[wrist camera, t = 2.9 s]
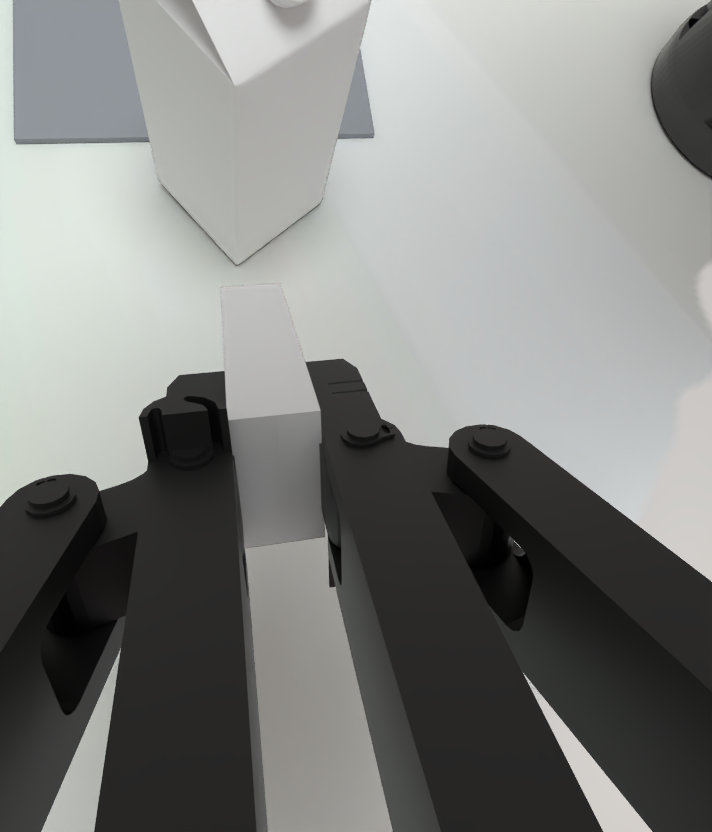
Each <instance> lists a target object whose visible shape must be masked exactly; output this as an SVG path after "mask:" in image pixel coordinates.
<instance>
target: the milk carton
mask: <svg viewBox="0 0 712 832" xmlns="http://www.w3.org/2000/svg"><path fill="white" fill-rule="evenodd" d="M119 5H120V9H121V14H122V18H123V23H124V27H125V32H126V36H127V41H128V45H129V50H130V55H131V59H132V64H133V68H134V73H135V77H136V82H137V86H138V91H139V95H140V100H141V104H142V109H143V114H144V118H145V123H146V127H147V132H148V136H149V141H150V145H151V150H152V154H153V159H154V163H155V168H156V173H157V177H158V180H159V181H160V183H161V184H162V185H163V186H164V187H165V188H166V189H167V190H168V191H169V192H170V193H171V195H172V196H173V197H174V198H175V199H176V200H177V201H178V202H179V203H180V204H181V205H182V207H183V208H184V209H185V210H186V211H187V212H188V213H189V214H190V215H191V216H192V217H193V219H194V220H195V221H196V222H197V223H198V224H199V225H200V226H201V227H202V228H203V229H204V230H205V232H206V233H207V234H208V235H209V236H210V237H211V238H212V239H213V240H214V241H215V242H216V244H217V245H218V246H219V247H220V248H221V249H222V250H223V251H224V252H225V253H226V254H227V256H228V257H229V258H230V259H231V260H232V261H233V262H234V263H235V264H237V265H238V264H240V263H241V262H243V261H244V260H246V259H247V258H248V257H250V256H251V255H252V254H254V253H255V252H256V251H258V250H259V249H260V248H262V247H263V246H264V245H266V244H267V243H268V242H270V241H271V240H272V239H273V238H275V237H276V236H277V235H279V234H280V233H281V232H283V231H284V230H285V229H287V228H288V227H289V226H291V225H292V224H293V223H295V222H296V221H297V220H299V219H300V218H301V217H303V216H304V215H305V214H307V213H308V212H309V211H311V210H312V209H313V208H315V207H316V206H317V205H318V204H319V203H320V202H321V201H322V197H323V193H324V189H325V186H326V182H327V178H328V174H329V170H330V166H331V162H332V158H333V154H334V150H335V146H336V142H337V138H338V134H339V130H340V126H341V122H342V118H343V114H344V110H345V106H346V102H347V98H348V94H349V90H350V86H351V82H352V78H353V74H354V70H355V66H356V62H357V58H358V54H359V50H360V46H361V42H362V38H363V34H364V30H365V26H366V22H367V17H368V13H369V9H370V5H371V0H119Z"/></svg>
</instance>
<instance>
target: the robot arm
mask: <svg viewBox="0 0 712 832" xmlns="http://www.w3.org/2000/svg"><path fill="white" fill-rule="evenodd" d="M652 92H653V99H654V103H655V107H656V110H657V113H658V116H659V118H660V120H661V123H662V125H663V127H664V128H665V130H666V132H667V133H668V135H669V136H670V138H671V139H672V141H673V142H674V143H675V145H676V146H677V147H678V148H679V150H680V151H681V152H682V153H683V154H684V155H685V156H686V157H687V158H688V159H689V160H690V161H691V162H692V163H694V164H695V165H696V166H697V167H698V168H700V169H701V170H703V171H704V172H705V173H707V174H708V175H710V176H711V177H712V0H711V1H710V2H709V3H708V4H707V5H705V6H703V7H701V8H700V9H699V10H697V11H696V12H695V13H693V14H692V15H691V16H690V17H689V18H688V19H687V20H686V21H685V22H684V23H683V24H682V25H681V26H680V27H679V29H678V30H677V31H676V32H675V34H674V35H673V36H672V38H671V39H670V40H669V42H668V43H667V44H666V45H665V47H664V48H663V49H662V51H661V52H660V54H659V56H658V58H657V60H656V63H655V66H654V70H653V76H652ZM221 307H222V327H223V347H224V368H225V371H221V372H210V373H199V374H187V375H179V376H178V377H177V378H176V379H175V380H174V381H173V382H172V383H171V384H170V385H169V386H168V387H167V395H166V397H164V398H161V399H159V400H156V401H154V402H153V403H151V404H150V405H148V406H147V407H146V408H144V409H143V411H142V413H141V414H140V416H139V421H140V425H141V430H142V435H143V439H144V444H145V449H146V453H147V458H148V467H147V471H146V472H145V473H144V474H142V475H140V476H139V477H137V478H135V479H133V480H131V481H129V482H126V483H123V484H121V485H118V486H115V487H112V488H108V489H105V490H102V491H99V489H98V487H97V485H96V482H94V481H93V480H91V479H89V478H88V477H86V476H81V475H74V474H65V475H54V476H50V477H46V478H42V479H39V480H36V481H34V482H32V483H30V484H28V485H26V486H24V487H22V488H20V489H19V490H17V491H16V492H15V493H14V494H13V495H12V496H10V497H9V498H8V499H7V500H6V501H5V502H4V503H3V505H2V506H1V507H0V832H41V830H42V828H43V826H44V823H45V821H46V819H47V816H48V814H49V812H50V810H51V807H52V805H53V803H54V800H55V798H56V796H57V793H58V791H59V789H60V786H61V784H62V782H63V780H64V777H65V775H66V773H67V770H68V768H69V766H70V763H71V761H72V759H73V757H74V754H75V752H76V750H77V747H78V745H79V743H80V740H81V738H82V736H83V733H84V731H85V729H86V727H87V724H88V722H89V720H90V717H91V715H92V713H93V710H94V708H95V706H96V704H97V701H98V699H99V697H100V694H101V692H102V690H103V687H104V685H105V683H106V680H107V678H108V676H109V674H110V671H111V669H112V667H113V664H114V662H115V660H116V657H117V655H118V653H119V651H120V648H121V652H120V659H119V666H118V673H117V680H116V687H115V694H114V700H113V707H112V714H111V721H110V728H109V735H108V741H107V748H106V755H105V762H104V769H103V776H102V783H101V789H100V796H99V803H98V810H97V817H96V824H95V831H94V832H268V829H267V816H266V804H265V791H264V778H263V765H262V752H261V740H260V727H259V714H258V701H257V688H256V676H255V663H254V650H253V637H252V624H251V612H250V599H249V586H248V573H247V564H246V556H245V548H251V547H258V546H265V545H272V544H279V543H286V542H293V541H300V540H307V539H314V538H321V537H325V525H326V529H327V533H328V555H329V587H335V586H336V591H337V595H338V599H339V603H340V608H341V612H342V616H343V620H344V625H345V629H346V633H347V637H348V642H349V646H350V650H351V654H352V659H353V663H354V667H355V671H356V676H357V680H358V684H359V688H360V693H361V697H362V701H363V705H364V710H365V714H366V718H367V722H368V727H369V731H370V735H371V739H372V744H373V748H374V752H375V757H376V761H377V765H378V769H379V774H380V778H381V782H382V786H383V791H384V795H385V799H386V803H387V808H388V812H389V816H390V820H391V825H392V829H393V832H603V831H602V829H601V826H600V825H599V823H598V821H597V819H596V817H595V815H594V813H593V811H592V809H591V807H590V805H589V803H588V801H587V799H586V797H585V795H584V793H583V791H582V789H581V787H580V785H579V783H578V781H577V779H576V777H575V775H574V773H573V771H572V769H571V767H570V765H569V763H568V761H567V759H566V757H565V756H564V753H563V752H562V749H561V748H560V746H559V744H558V742H557V740H556V738H555V736H554V734H553V732H552V730H551V728H550V726H549V724H548V722H547V720H546V718H545V716H544V714H543V712H542V710H541V708H540V706H539V704H538V702H537V700H536V698H535V696H534V694H533V692H532V690H531V688H530V686H529V684H528V682H527V680H526V678H525V676H524V674H525V675H526V676H527V678H528V679H529V680H530V681H531V683H532V684H533V685H534V686H535V687H536V689H537V690H538V691H539V692H540V694H541V695H542V696H543V697H544V699H545V700H546V701H547V702H548V703H549V705H550V706H551V707H552V708H553V709H554V711H555V712H556V713H557V715H558V716H559V717H560V718H561V719H562V721H563V722H564V723H565V724H566V726H567V727H568V728H569V729H570V731H571V732H572V733H573V734H574V735H575V737H576V738H577V739H578V740H579V742H580V743H581V744H582V745H583V747H584V748H585V749H586V750H587V751H588V753H589V754H590V755H591V756H592V758H593V759H594V760H595V761H596V762H597V764H598V765H599V766H600V767H601V769H602V770H603V771H604V772H605V774H606V775H607V776H608V777H609V778H610V780H611V781H612V782H613V783H614V785H615V786H616V787H617V788H618V790H619V791H620V792H621V793H622V794H623V796H624V797H625V798H626V799H627V801H628V802H629V803H630V804H631V806H632V807H633V808H634V809H635V811H636V812H637V813H638V814H639V815H640V817H641V818H642V819H643V820H644V822H645V823H646V824H647V825H648V827H649V828H650V829H651V830H652V831H653V832H712V582H711V581H710V580H709V579H707V578H706V577H705V576H703V575H702V574H701V573H699V572H698V571H697V570H695V569H694V568H693V567H692V566H690V565H689V564H688V563H686V562H685V561H683V560H682V559H681V558H680V557H678V556H677V555H676V554H675V553H673V552H672V551H671V550H669V549H668V548H666V547H665V546H664V545H663V544H661V543H660V542H659V541H657V540H656V539H655V538H654V537H652V536H651V535H650V534H648V533H647V532H646V531H644V530H643V529H642V528H640V527H639V526H638V525H636V524H635V523H634V522H633V521H631V520H630V519H629V518H627V517H626V516H625V515H623V514H622V513H621V512H619V511H618V510H617V509H615V508H614V507H613V506H612V505H610V504H609V503H608V502H606V501H605V500H604V499H602V498H601V497H600V496H598V495H597V494H596V493H594V492H593V491H592V490H591V489H589V488H588V487H587V486H585V485H584V484H583V483H581V482H580V481H579V480H577V479H576V478H575V477H573V476H572V475H571V474H570V473H568V472H567V471H566V470H564V469H563V468H562V467H560V466H559V465H558V464H556V463H555V462H554V461H552V460H551V459H550V458H549V457H547V456H546V455H545V454H543V453H542V452H541V451H539V450H538V449H537V448H535V447H534V446H533V445H532V444H530V443H529V442H528V441H526V440H525V439H524V438H522V437H521V436H519V435H517V434H516V433H514V432H512V431H510V430H508V429H504V428H501V427H497V426H494V425H474V426H467V427H464V428H462V429H459V430H457V431H455V432H454V434H453V435H452V436H451V437H450V439H449V448H441V447H429V446H421V445H415V444H411V443H408V442H406V441H405V439H404V437H403V435H402V434H401V432H400V431H399V430H398V429H397V428H396V426H395V425H393V424H391V423H389V422H387V421H385V420H382V419H381V418H380V415H379V413H378V411H377V409H376V407H375V405H374V403H373V401H372V399H371V397H370V394H369V392H367V388H366V386H365V384H364V382H363V380H362V378H361V376H360V373H359V371H358V369H357V368H356V367H354V366H353V365H351V364H350V363H348V362H347V361H345V360H344V359H336V360H324V361H313V362H305V359H304V356H303V353H302V350H301V347H300V344H299V340H298V337H297V334H296V331H295V328H294V325H293V321H292V318H291V315H290V312H289V309H288V306H287V302H286V299H285V296H284V293H283V290H282V287H281V283H273V284H258V285H242V286H227V287H221ZM324 521H325V525H324ZM514 541H515V542H516V543H517V544H518V545H519V546H520V547H521V548H522V549H521V548H520V547H519V546H518V545H517V544H516V543H515V542H514ZM522 671H523V672H522ZM523 673H524V674H523Z"/></svg>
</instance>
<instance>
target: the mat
mask: <svg viewBox="0 0 712 832" xmlns="http://www.w3.org/2000/svg"><path fill="white" fill-rule="evenodd" d="M13 84H14V140H15V142H16V144H33V143H91V142H148V141H149V136H148V132H147V127H146V123H145V118H144V114H143V109H142V104H141V100H140V95H139V91H138V86H137V82H136V77H135V73H134V68H133V64H132V59H131V55H130V50H129V45H128V41H127V36H126V32H125V27H124V23H123V18H122V14H121V9H120V5H119V0H13ZM373 137H374V128H373V122H372V116H371V110H370V104H369V98H368V92H367V86H366V80H365V74H364V69H363V63H362V57H361V51H360V50H359V54H358V58H357V62H356V66H355V70H354V74H353V78H352V82H351V86H350V90H349V94H348V98H347V102H346V106H345V110H344V114H343V118H342V122H341V126H340V130H339V134H338V138H373Z"/></svg>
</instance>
